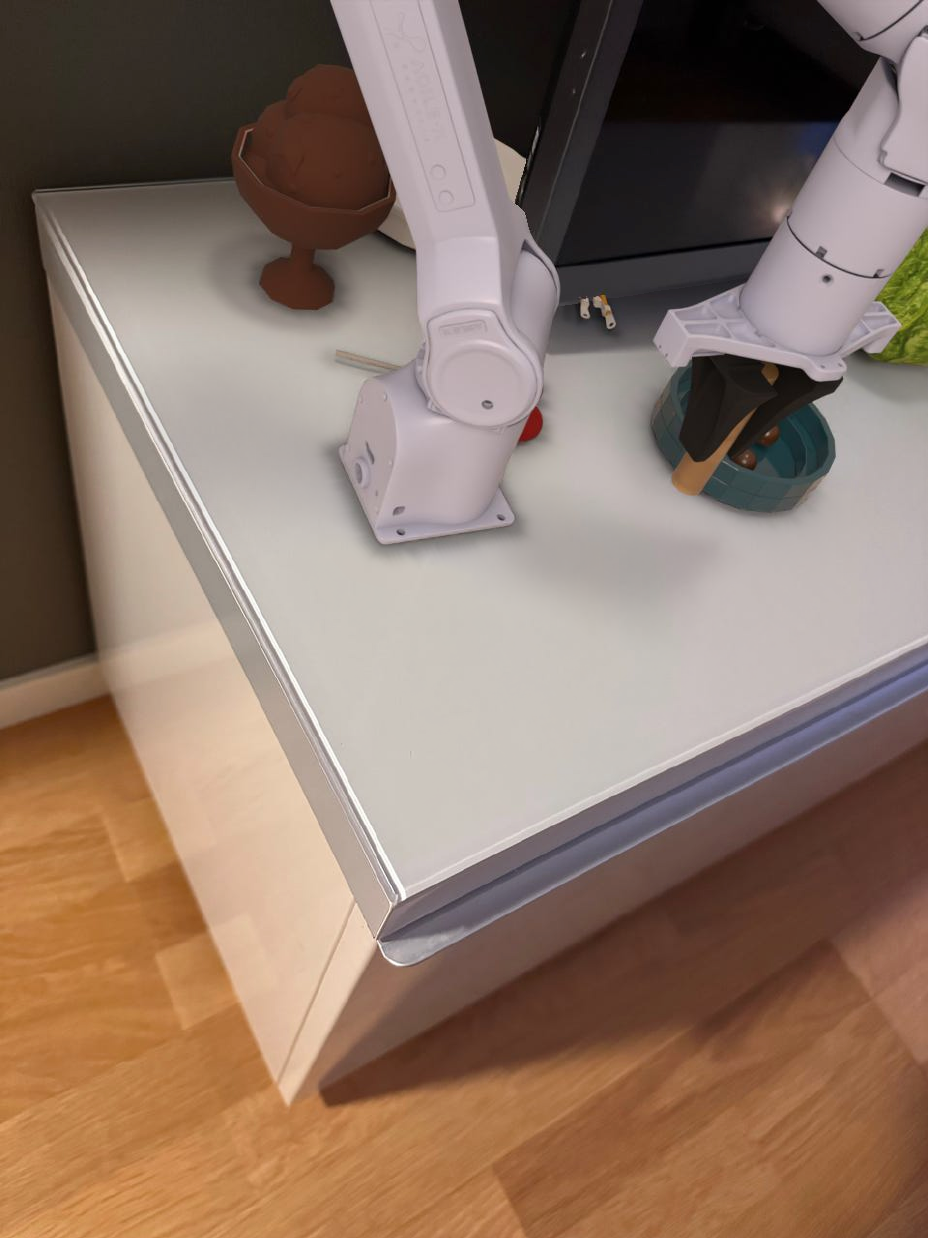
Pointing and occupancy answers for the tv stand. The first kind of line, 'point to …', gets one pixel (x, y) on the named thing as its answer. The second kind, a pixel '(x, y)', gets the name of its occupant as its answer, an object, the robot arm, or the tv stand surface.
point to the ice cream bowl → (313, 179)
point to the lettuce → (908, 308)
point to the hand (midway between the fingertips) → (707, 447)
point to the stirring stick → (697, 474)
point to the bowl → (780, 467)
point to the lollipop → (531, 426)
